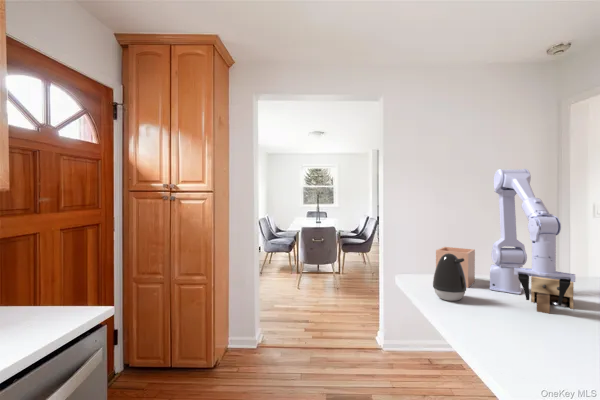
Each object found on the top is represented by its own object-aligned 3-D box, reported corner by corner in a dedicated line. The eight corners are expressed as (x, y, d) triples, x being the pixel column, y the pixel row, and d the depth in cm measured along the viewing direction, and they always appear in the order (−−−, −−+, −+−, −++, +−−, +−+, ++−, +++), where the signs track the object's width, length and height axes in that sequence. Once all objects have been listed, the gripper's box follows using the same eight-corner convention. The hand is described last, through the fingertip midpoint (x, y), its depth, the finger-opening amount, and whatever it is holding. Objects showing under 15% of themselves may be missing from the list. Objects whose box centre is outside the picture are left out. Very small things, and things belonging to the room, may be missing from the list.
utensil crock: (435, 282, 130) (436, 250, 130) (444, 277, 139) (444, 246, 139) (468, 288, 123) (468, 253, 123) (474, 281, 132) (474, 249, 132)
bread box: (530, 302, 106) (531, 277, 106) (533, 295, 113) (533, 272, 113) (573, 309, 99) (573, 283, 99) (572, 301, 107) (572, 277, 107)
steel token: (550, 306, 103) (550, 302, 103) (551, 303, 106) (551, 299, 106) (567, 309, 101) (567, 305, 101) (567, 305, 104) (567, 301, 104)
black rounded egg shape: (452, 305, 103) (453, 257, 103) (426, 296, 112) (426, 252, 112) (473, 300, 107) (474, 254, 107) (446, 292, 117) (446, 250, 117)
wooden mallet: (536, 311, 98) (536, 294, 98) (539, 298, 110) (540, 283, 110) (567, 316, 93) (567, 299, 93) (566, 302, 106) (567, 287, 105)
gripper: (513, 255, 99) (512, 300, 99) (575, 261, 90) (575, 310, 90) (515, 252, 105) (515, 295, 105) (575, 257, 96) (574, 304, 96)
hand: (543, 302), depth 98 cm, fingers open, 7 cm apart
